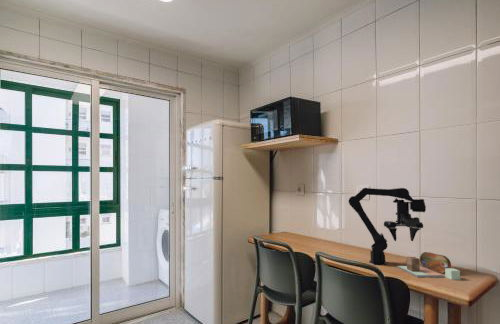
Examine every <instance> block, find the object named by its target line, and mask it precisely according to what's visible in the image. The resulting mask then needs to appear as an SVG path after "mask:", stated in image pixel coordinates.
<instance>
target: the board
mask: <svg viewBox="0 0 500 324" xmlns="http://www.w3.org/2000/svg"><path fill="white" fill-rule="evenodd" d="M397 268H399V269H401V270H402V271H404V272H406V273H408V274H410V275H412V276H415V277H416V278H425V277H431V278H433V277H434V278H436V279H437V278H446V277H445V275H443V274H442V273H440V272H436V271H433V270H430V269H427V268H425V267H423V266H422V265H420V272H412V271H410V270H408V269H407V265H397Z"/></svg>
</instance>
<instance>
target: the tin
mask: <svg viewBox="0 0 500 324" xmlns="http://www.w3.org/2000/svg"><path fill="white" fill-rule="evenodd" d="M419 259H420V263H421V264H420V265H421V266H423V267H425V268H427V269H430V270H432V271H434V272H436V273H439V274H445V268H452V263H451V260H450V259H449V257H447V256H445V255H443V254H438V253H433V252H430V251H429V252H426V251H424V252H422V253H421V254H420V256H419Z"/></svg>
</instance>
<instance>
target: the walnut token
mask: <svg viewBox="0 0 500 324" xmlns="http://www.w3.org/2000/svg"><path fill="white" fill-rule="evenodd" d="M420 263H421V262H420V258H418V257H417V256H406V266H407V269H408V270H410V271H412V272H420V266H421V264H420Z"/></svg>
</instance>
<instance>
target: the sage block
mask: <svg viewBox="0 0 500 324" xmlns="http://www.w3.org/2000/svg"><path fill="white" fill-rule="evenodd" d="M444 276H445V278H446V279H449V280H451V279H452V280H453V281H461V270H459V269H456V268H452V267H451V268H445V273H444Z"/></svg>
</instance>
